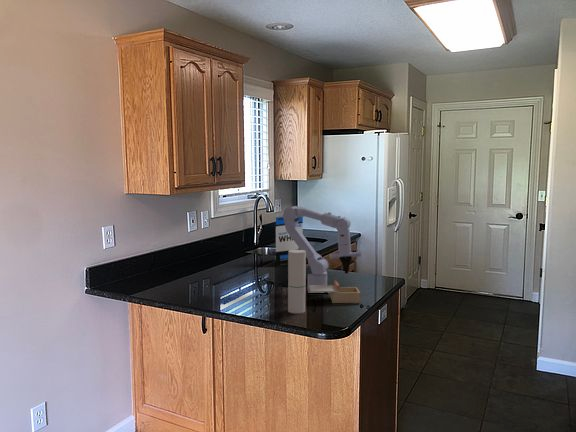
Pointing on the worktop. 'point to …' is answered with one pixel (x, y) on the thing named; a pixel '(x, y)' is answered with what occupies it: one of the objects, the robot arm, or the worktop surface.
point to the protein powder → (285, 241)
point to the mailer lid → (325, 287)
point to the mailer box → (346, 295)
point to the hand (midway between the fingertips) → (346, 272)
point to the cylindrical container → (296, 281)
